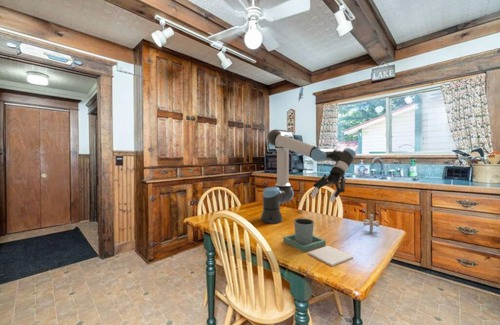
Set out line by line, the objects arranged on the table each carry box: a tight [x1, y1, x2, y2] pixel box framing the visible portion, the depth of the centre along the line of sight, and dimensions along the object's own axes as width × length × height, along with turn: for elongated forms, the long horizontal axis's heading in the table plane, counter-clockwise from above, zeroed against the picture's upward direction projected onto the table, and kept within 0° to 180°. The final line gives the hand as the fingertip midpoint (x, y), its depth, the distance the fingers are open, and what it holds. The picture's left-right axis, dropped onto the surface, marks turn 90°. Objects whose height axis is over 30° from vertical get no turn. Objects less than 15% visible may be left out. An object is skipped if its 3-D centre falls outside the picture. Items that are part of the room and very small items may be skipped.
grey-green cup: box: [293, 217, 315, 246], centre depth 119 cm, size 10×10×12 cm
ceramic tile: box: [307, 245, 354, 267], centre depth 104 cm, size 14×14×1 cm
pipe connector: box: [362, 214, 380, 232], centre depth 135 cm, size 10×10×10 cm
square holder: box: [282, 233, 327, 253], centre depth 119 cm, size 15×15×2 cm
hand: (321, 199), depth 124 cm, fingers open, 13 cm apart
